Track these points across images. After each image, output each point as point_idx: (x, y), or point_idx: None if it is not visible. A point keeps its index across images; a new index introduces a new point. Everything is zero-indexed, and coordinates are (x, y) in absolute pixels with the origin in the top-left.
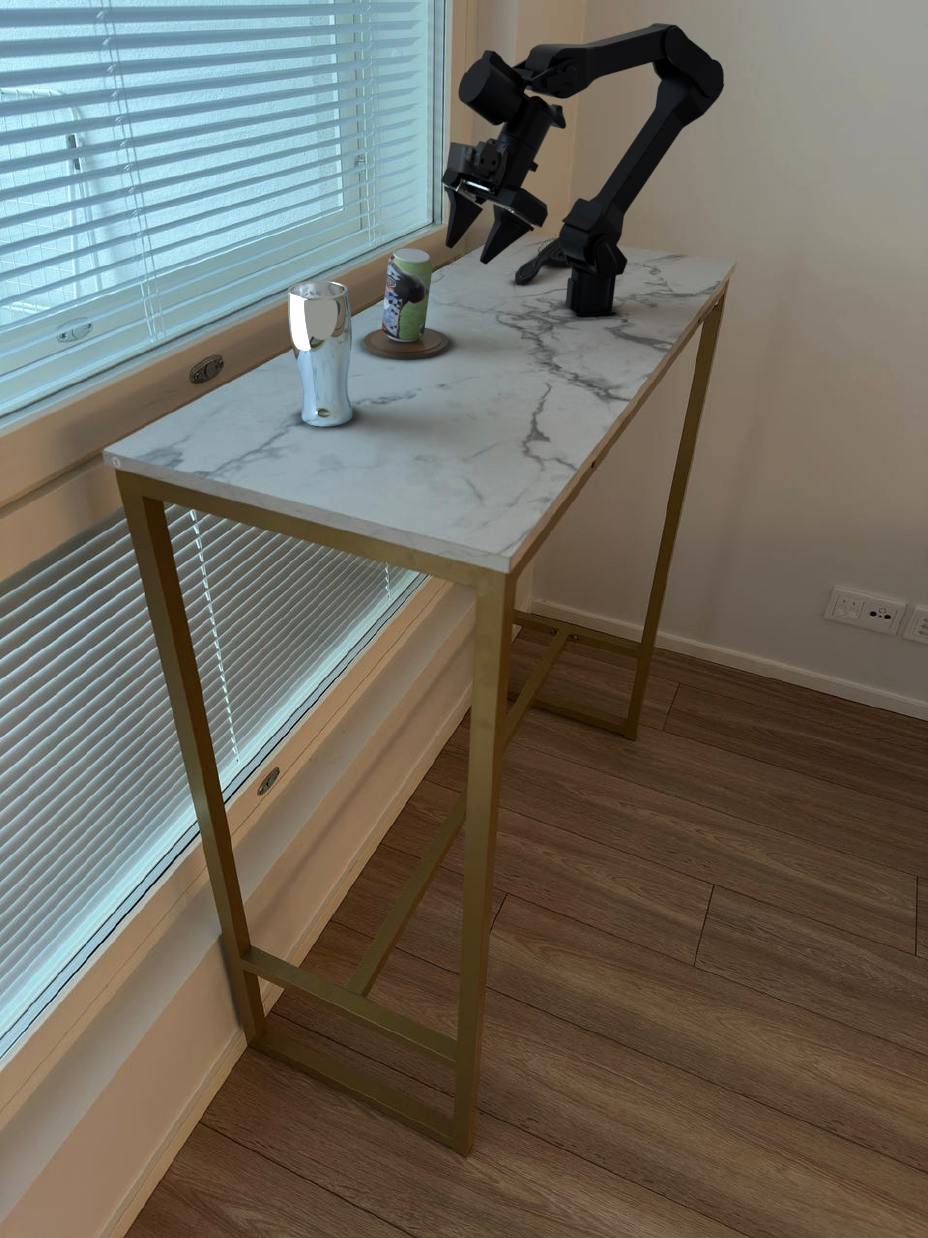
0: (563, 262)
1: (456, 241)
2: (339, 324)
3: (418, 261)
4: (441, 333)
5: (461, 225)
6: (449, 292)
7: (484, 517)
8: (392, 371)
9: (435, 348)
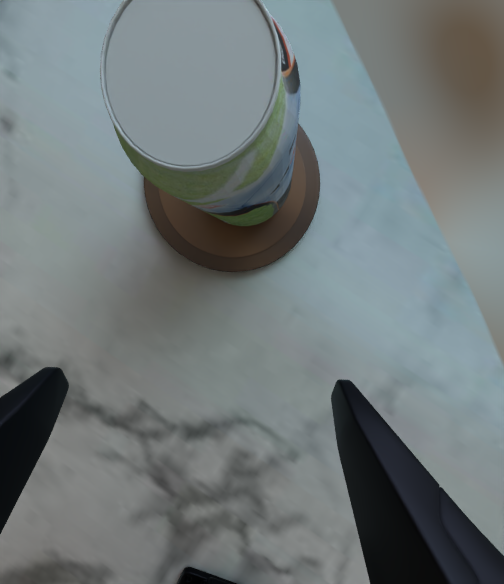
0: None
1: (336, 433)
2: None
3: (110, 69)
4: (227, 269)
5: (370, 518)
6: (453, 438)
7: None
8: None
9: (159, 209)
